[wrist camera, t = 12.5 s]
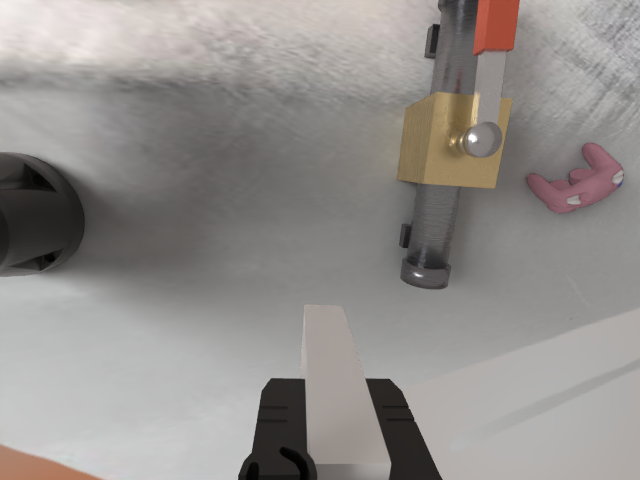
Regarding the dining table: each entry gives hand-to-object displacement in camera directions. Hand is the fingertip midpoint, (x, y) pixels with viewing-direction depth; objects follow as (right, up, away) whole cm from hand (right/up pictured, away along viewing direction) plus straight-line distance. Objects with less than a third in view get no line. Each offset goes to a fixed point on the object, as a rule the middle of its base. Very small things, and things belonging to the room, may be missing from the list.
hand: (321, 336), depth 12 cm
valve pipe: (+15, +16, +28) cm, 36 cm away
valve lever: (+15, +20, +16) cm, 30 cm away
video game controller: (+33, +13, +31) cm, 47 cm away
